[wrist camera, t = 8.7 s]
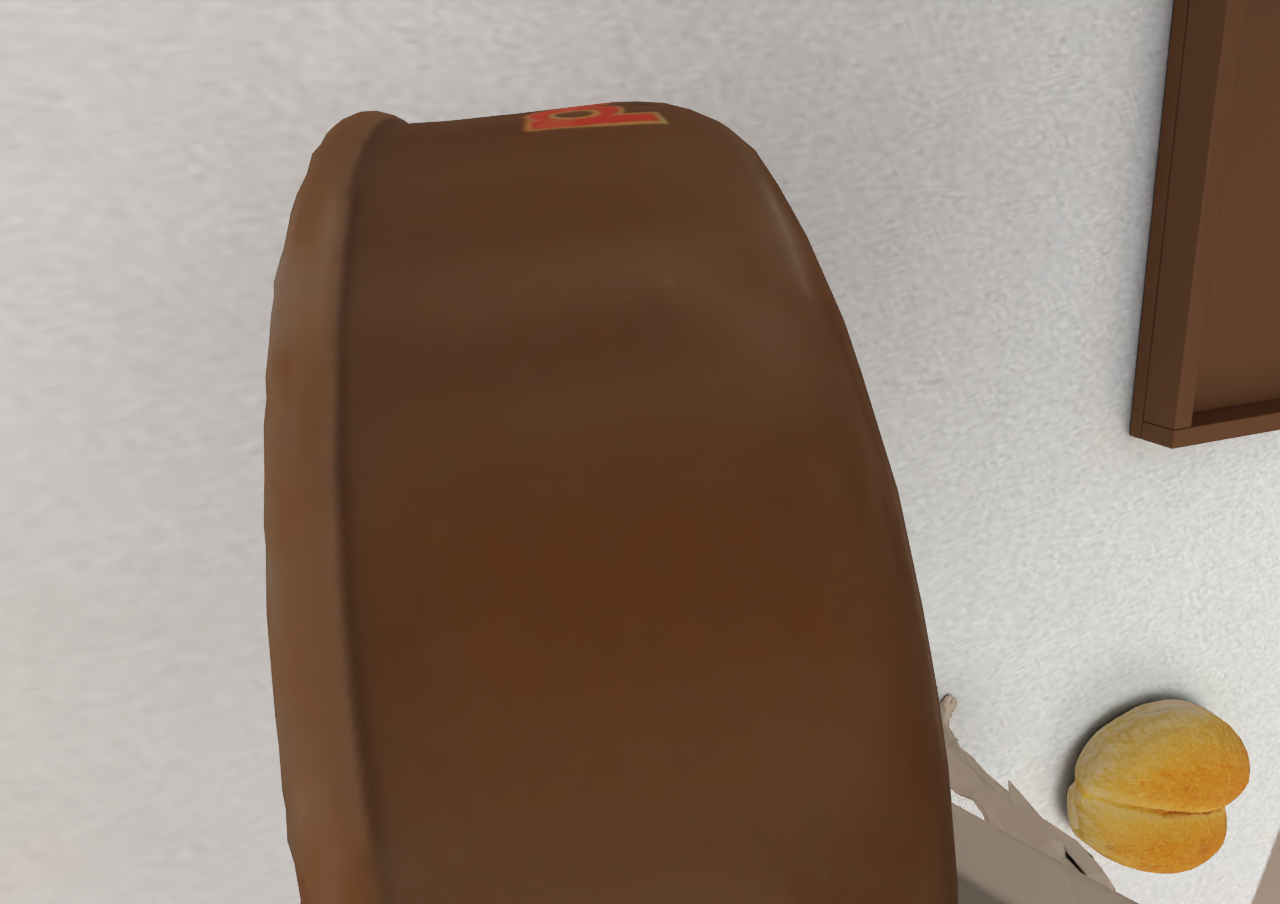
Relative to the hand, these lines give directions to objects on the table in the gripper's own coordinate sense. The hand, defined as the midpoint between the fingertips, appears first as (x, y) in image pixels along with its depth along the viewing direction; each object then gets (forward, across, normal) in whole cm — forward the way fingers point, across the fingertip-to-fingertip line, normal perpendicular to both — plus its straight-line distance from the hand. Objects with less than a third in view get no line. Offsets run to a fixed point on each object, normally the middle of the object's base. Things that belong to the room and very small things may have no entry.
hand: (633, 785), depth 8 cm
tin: (+4, 0, 0) cm, 4 cm away
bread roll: (+19, -26, +24) cm, 40 cm away
